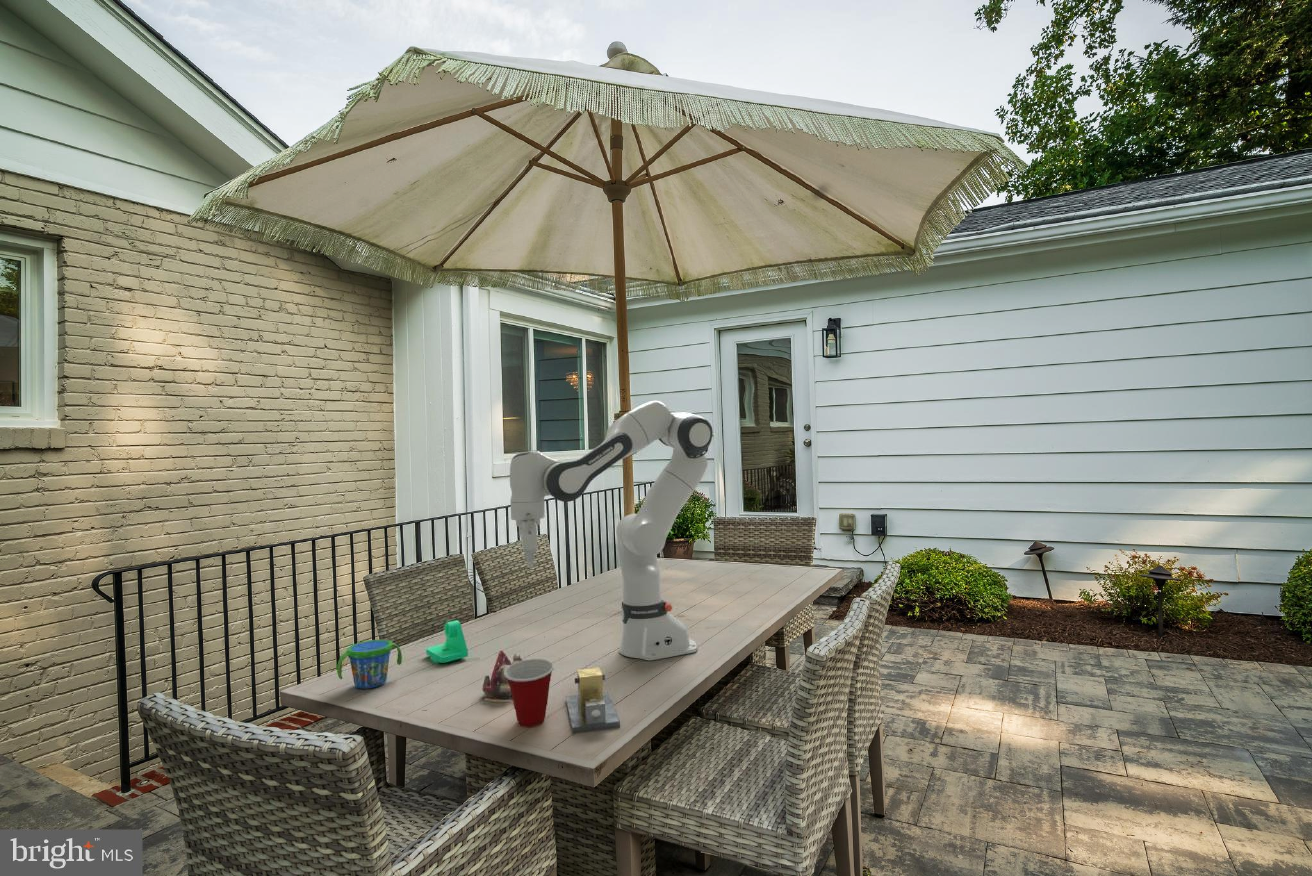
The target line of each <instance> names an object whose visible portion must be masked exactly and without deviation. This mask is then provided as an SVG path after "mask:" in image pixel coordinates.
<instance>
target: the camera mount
mask: <svg viewBox="0 0 1312 876" xmlns="http://www.w3.org/2000/svg"><path fill="white" fill-rule="evenodd" d="M443 626H444V629H443V631H444V634H445V637H446V640H445V643H442V644H437V645H434V646H429V647H427V648H426V649H425V650H426V651H425V652H426V653H425V654H426V656H429V658H430V661H432V662H433V663H435V664H444V663H449V662H452V661H457V660H459V659H464V658H467V657H469V650H468V646H467V643H466V639H465V635H464V632H463V628H462V625H461V623H460V621H459V620H457V619H456V620H453V621H447V622H445V623H444V625H443Z"/></svg>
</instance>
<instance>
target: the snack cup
mask: <svg viewBox="0 0 1312 876" xmlns="http://www.w3.org/2000/svg"><path fill="white" fill-rule="evenodd" d="M392 647H395V648H396V649H397V658H396V664H397V665H399V666H400V665H402V662H403V655H402V650H401V648H400V647H399V645H397V644H396V643H393V642H392V641H390V640H388V639H387V640H386V639H372V640H371V639H370V640H364V641H361V642H357V643H354V644H352V645H350V646H348V647H347V649H346V651H345V652H344V653H343V654H342V655H341V656H340V658H339V659H338V661H337V666H336V672H337V676H338V679H340V680H343V676H342V673H343V669H342V668H343V661H344V660H345V659H346V658H349V660H350V666H351V667H350V668H351V673H352V678H353V683H354V687H355V688H356V689H362V690H363V689H364V690H366V689H367V690H369V689H373V688H375V687H379V686H384V683H386V682H387V678H388V672H389V662H390V657H391V656H390V655H391V651H392Z"/></svg>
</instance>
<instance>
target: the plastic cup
mask: <svg viewBox="0 0 1312 876" xmlns="http://www.w3.org/2000/svg"><path fill="white" fill-rule="evenodd" d="M511 664H512V663H511ZM554 668H555V667H554V663H553V662H552V661H551V660H549V659H545V658H529V659H522V661H519V662H516V663H514V664H512V665H510V666H508V667H507V668H506V669H505V670H504V676H505V677H506V678H507V680H508V682H509V686H510V689H511V694H512V695H511V700H513V702H512V704H513V708H514V710H515V716H516V720H517V723H518V725H519V726H521V727H524V728H531V727H536V726H539V725H542V724H543V723H544V721H545V718H546V713H547V706H548V700H549V699H548V698H549V691H550V684H551V680H552V679H551V678H552V674H553V670H554Z"/></svg>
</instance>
